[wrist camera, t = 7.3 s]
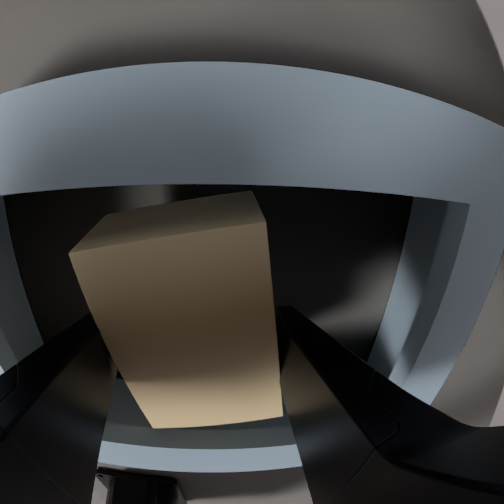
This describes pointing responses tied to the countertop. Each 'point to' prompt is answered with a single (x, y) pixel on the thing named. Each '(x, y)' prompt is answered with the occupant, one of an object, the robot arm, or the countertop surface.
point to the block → (187, 308)
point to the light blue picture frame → (277, 174)
